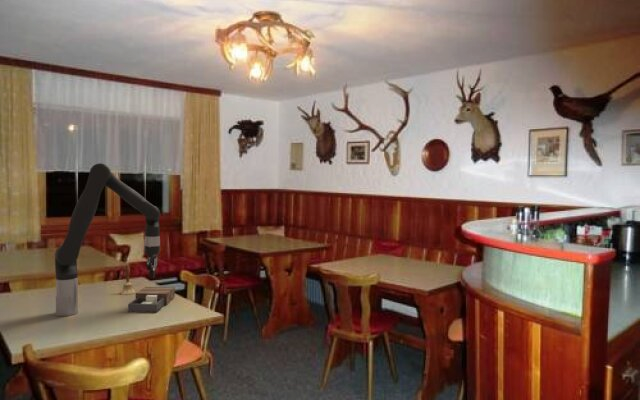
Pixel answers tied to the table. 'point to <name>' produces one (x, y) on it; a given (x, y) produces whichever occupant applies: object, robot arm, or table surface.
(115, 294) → the table surface
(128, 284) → the hand bell
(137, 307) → the box
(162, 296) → the drawer box
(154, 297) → the tile far
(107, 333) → the table surface
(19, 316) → the table surface
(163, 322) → the table surface
